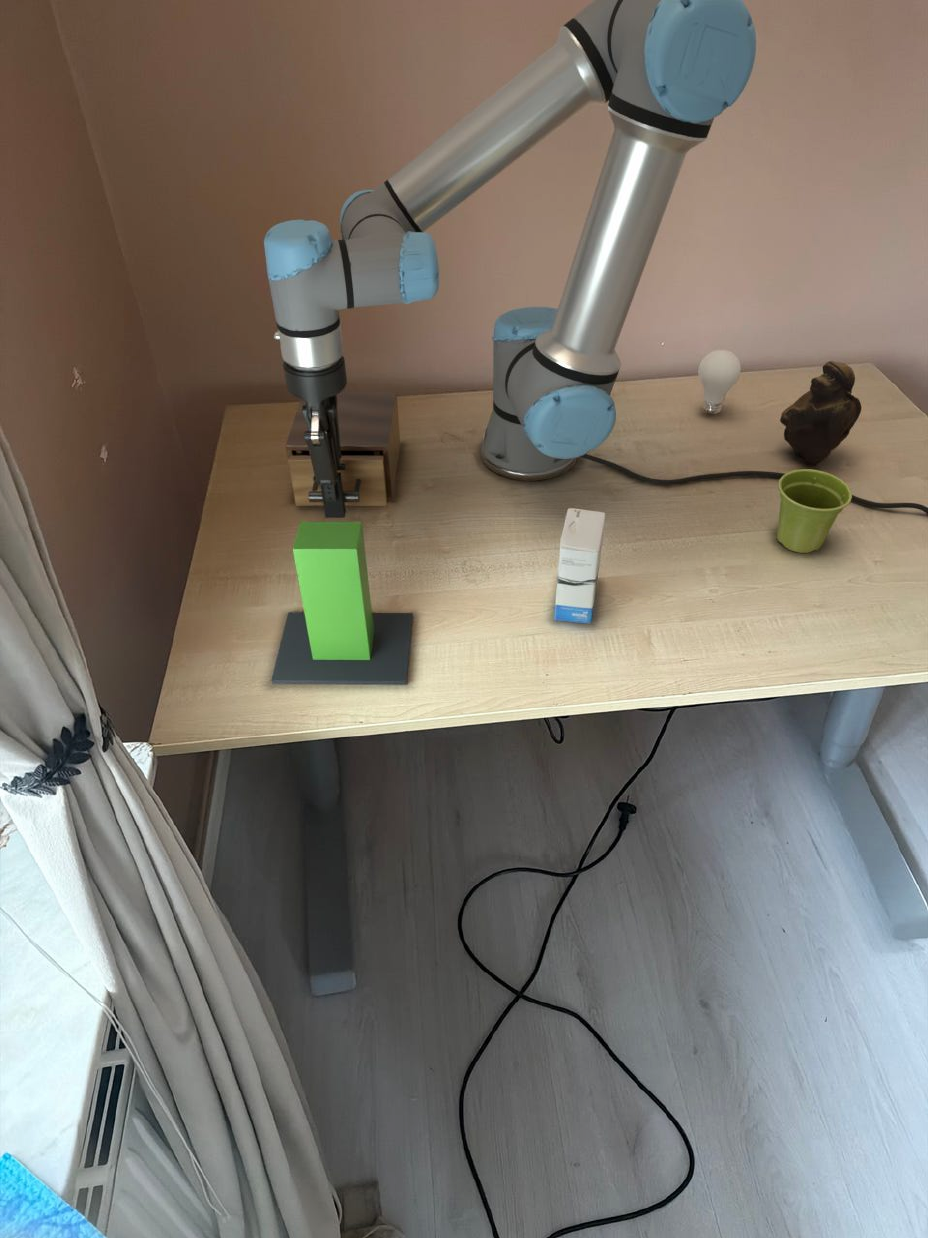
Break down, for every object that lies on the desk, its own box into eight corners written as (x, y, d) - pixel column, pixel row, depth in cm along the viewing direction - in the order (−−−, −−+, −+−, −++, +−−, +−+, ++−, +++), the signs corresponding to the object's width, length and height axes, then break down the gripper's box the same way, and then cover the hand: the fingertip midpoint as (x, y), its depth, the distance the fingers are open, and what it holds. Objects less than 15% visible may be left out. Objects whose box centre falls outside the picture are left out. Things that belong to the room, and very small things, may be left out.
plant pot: (835, 527, 127) (853, 475, 121) (833, 567, 121) (851, 515, 115) (768, 515, 129) (781, 464, 124) (761, 553, 123) (775, 501, 117)
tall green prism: (374, 631, 112) (361, 521, 100) (370, 660, 108) (357, 549, 97) (318, 631, 112) (299, 521, 100) (312, 659, 108) (292, 549, 97)
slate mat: (413, 616, 115) (412, 612, 114) (406, 684, 106) (406, 681, 105) (288, 615, 115) (288, 612, 115) (272, 683, 106) (271, 680, 106)
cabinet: (392, 501, 133) (387, 445, 127) (295, 501, 134) (285, 445, 127) (400, 445, 145) (396, 391, 138) (310, 445, 145) (302, 391, 139)
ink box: (591, 625, 113) (600, 552, 105) (552, 620, 114) (558, 547, 106) (598, 582, 119) (606, 510, 111) (560, 578, 120) (566, 505, 112)
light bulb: (735, 423, 148) (748, 361, 141) (694, 423, 148) (706, 361, 141) (726, 402, 153) (739, 342, 146) (687, 403, 153) (698, 342, 146)
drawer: (383, 525, 128) (379, 479, 122) (290, 525, 128) (282, 479, 123) (394, 452, 142) (391, 407, 136) (310, 452, 142) (303, 408, 137)
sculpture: (752, 432, 139) (812, 344, 133) (795, 450, 145) (854, 367, 139) (794, 465, 132) (859, 373, 125) (838, 483, 138) (902, 396, 131)
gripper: (291, 334, 114) (315, 488, 130) (273, 383, 105) (302, 543, 121) (349, 333, 114) (366, 488, 130) (337, 383, 105) (357, 543, 121)
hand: (335, 514), depth 126 cm, fingers closed
